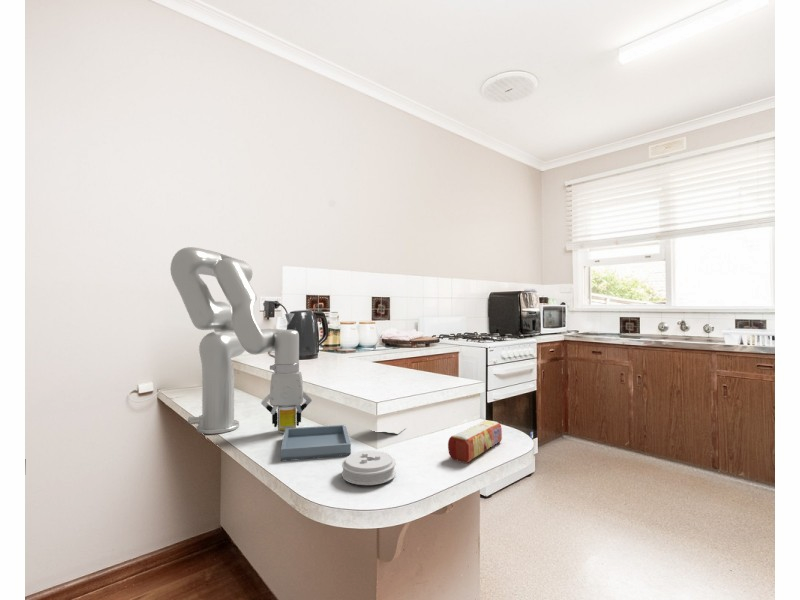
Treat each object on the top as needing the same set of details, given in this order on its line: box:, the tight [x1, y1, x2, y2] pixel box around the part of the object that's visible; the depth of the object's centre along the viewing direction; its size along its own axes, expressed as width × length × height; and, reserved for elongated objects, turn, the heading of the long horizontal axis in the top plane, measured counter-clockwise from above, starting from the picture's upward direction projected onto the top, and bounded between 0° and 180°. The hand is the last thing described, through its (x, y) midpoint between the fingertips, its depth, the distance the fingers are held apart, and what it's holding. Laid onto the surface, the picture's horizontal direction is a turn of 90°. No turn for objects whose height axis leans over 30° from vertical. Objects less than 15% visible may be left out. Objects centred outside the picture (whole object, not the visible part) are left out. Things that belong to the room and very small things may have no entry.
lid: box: [341, 450, 397, 486], centre depth 96 cm, size 13×13×5 cm
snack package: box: [447, 419, 503, 464], centre depth 113 cm, size 21×7×7 cm, turn 142°
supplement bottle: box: [277, 405, 297, 435], centre depth 130 cm, size 6×6×10 cm
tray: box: [280, 424, 352, 461], centre depth 116 cm, size 18×18×3 cm
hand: (286, 424), depth 130 cm, fingers open, 6 cm apart
